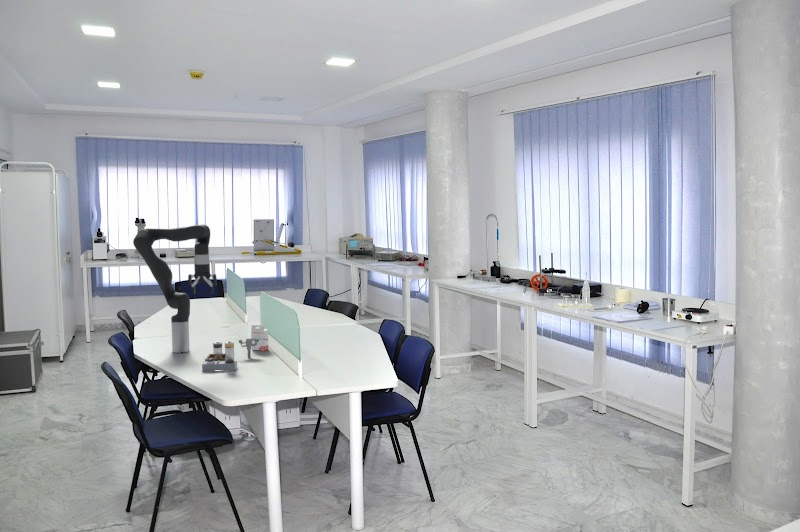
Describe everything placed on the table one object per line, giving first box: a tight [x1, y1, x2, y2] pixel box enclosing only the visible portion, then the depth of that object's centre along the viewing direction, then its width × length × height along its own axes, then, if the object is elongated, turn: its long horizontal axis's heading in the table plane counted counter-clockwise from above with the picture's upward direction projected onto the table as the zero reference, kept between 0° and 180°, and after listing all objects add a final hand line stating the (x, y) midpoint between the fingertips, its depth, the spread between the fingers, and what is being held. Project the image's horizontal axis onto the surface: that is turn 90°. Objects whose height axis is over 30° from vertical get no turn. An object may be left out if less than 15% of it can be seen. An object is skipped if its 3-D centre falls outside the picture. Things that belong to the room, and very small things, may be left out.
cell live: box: [224, 341, 235, 363], centre depth 321 cm, size 4×4×11 cm
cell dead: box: [212, 340, 223, 359], centre depth 334 cm, size 4×4×11 cm
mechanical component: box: [238, 338, 259, 358], centre depth 346 cm, size 3×10×10 cm, turn 111°
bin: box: [204, 353, 225, 361], centre depth 334 cm, size 11×11×4 cm
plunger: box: [206, 358, 214, 364], centre depth 320 cm, size 4×4×5 cm
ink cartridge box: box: [250, 324, 269, 352], centre depth 363 cm, size 9×5×15 cm, turn 76°
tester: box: [201, 360, 238, 372], centre depth 321 cm, size 6×16×4 cm, turn 96°
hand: (202, 294), depth 333 cm, fingers open, 8 cm apart
